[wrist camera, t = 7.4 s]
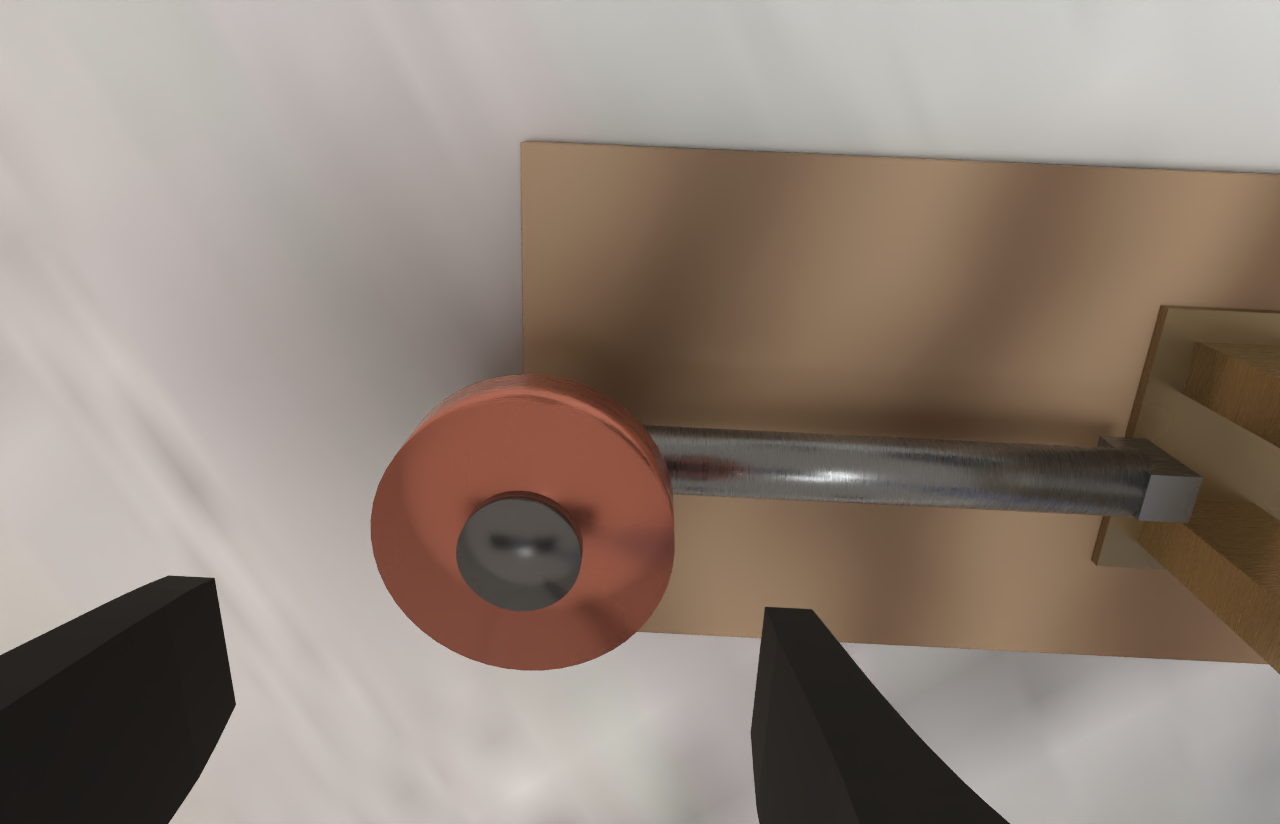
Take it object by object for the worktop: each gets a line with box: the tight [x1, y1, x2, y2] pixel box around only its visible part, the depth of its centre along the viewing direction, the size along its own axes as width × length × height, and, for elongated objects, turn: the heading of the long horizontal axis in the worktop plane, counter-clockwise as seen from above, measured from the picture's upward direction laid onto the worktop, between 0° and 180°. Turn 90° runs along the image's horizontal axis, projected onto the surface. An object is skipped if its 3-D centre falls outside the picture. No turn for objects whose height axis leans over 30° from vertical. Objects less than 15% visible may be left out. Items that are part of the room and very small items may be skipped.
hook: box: [371, 374, 1203, 670], centre depth 15 cm, size 15×5×5 cm, turn 88°
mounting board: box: [521, 141, 1280, 664], centre depth 19 cm, size 20×12×1 cm, turn 88°
